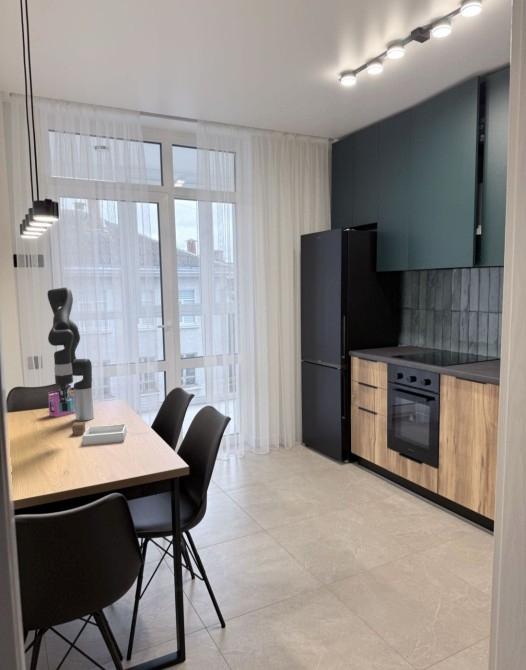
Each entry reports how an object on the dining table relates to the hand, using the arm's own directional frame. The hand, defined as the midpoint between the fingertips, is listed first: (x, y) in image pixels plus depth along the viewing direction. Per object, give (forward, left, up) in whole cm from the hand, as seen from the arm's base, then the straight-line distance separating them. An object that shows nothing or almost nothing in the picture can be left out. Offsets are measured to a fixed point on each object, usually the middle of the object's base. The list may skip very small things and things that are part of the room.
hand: (66, 409), depth 217 cm
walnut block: (-13, +2, -15) cm, 20 cm away
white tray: (-1, +16, -15) cm, 22 cm away
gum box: (-61, -11, -16) cm, 64 cm away
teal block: (0, 0, 0) cm, 0 cm away
